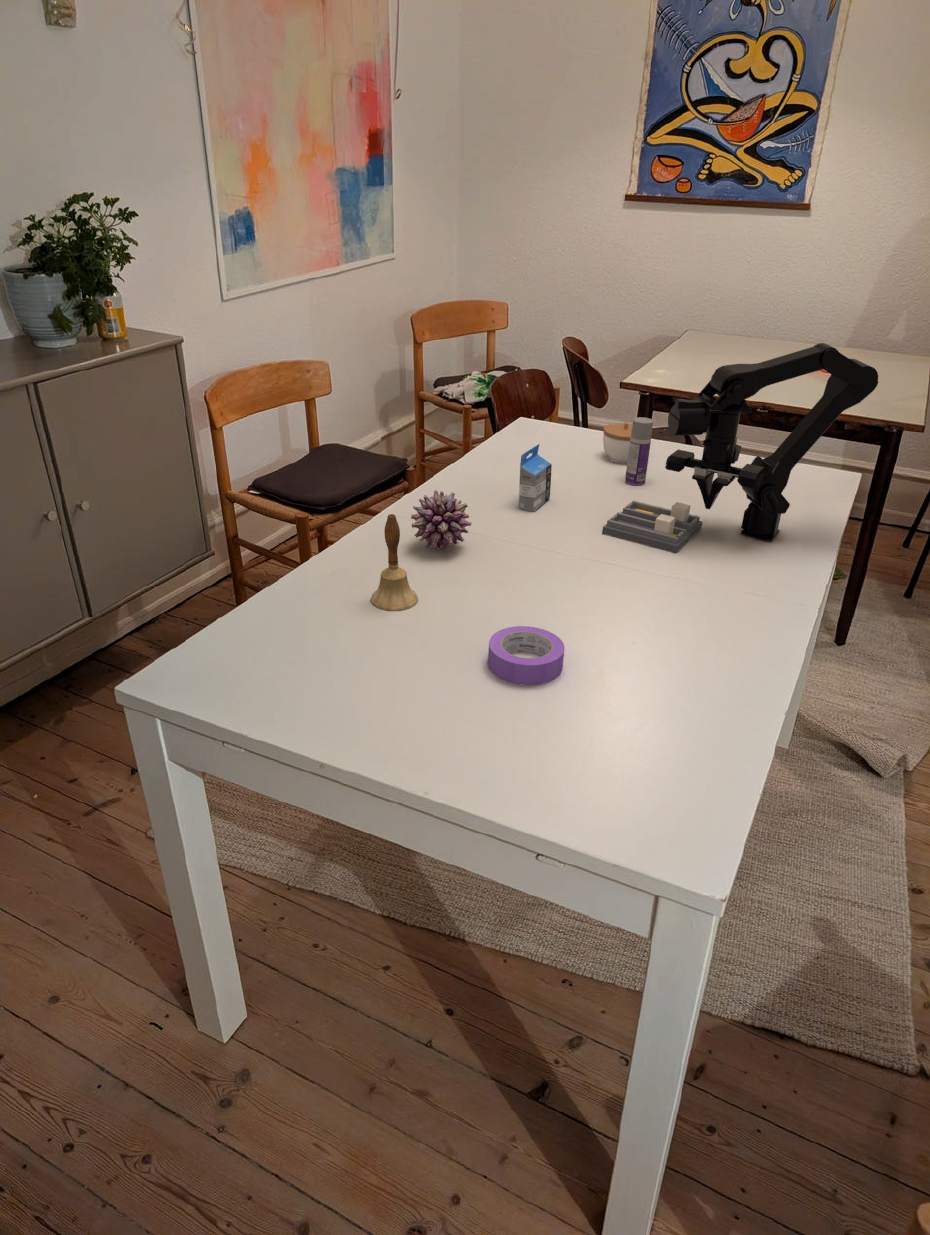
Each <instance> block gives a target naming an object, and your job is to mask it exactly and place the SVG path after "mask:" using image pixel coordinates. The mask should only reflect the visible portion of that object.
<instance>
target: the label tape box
mask: <svg viewBox="0 0 930 1235" xmlns="http://www.w3.org/2000/svg"><path fill="white" fill-rule="evenodd" d="M539 447H540V443H538V444H536V445H535V446H533V447H532V448H530V449H528V450H527V451H525V452H523V453H522V454H521V456H520V464H519V488H518V489H519V491H518V492H519V493H518V495H519V496H518V497H519V498H518V510H523V511H527V512H535V511H536V510H538V509H539V508H540V507H541V506H543V505H544V504H545V503H546V502H548V501H549V500H551V499H550V498H551V483H552V468H553V467H552V466H553V464H552V463H551V462H549V461H548V460H546V459H545V458H544V457H542V456H540V455H539V454H538V453H539Z"/></svg>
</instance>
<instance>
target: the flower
mask: <svg viewBox="0 0 930 1235" xmlns="http://www.w3.org/2000/svg"><path fill="white" fill-rule="evenodd" d="M455 495H456V493H455V492H454V491H451V492H450V494H449V495H448V494H444V491H443V490H442V491H440V492H439V491H438V490H437V489H434V491H433V496H430V497H429V496H427V494H425V495H424V496H422V497H423V498H421V497H420V498H419V499H418V501H419V503H420V506H416V505H413V506H412V509H413V510H415V511H416V513H414V514H410V519H412V520H414V522H411V529H414V528H416V529H418V530H417V532H416V533H415V534H414V536H415V538H420V539H419V541H420V542H423V540H425V541H426V543H427V544H426V546H425V548H426V549H430V548H431V546H432V547H434V548H435V547H436V549H439V550H440V549H441V548H442V549H443V551H444V552H448V551H449V546H451V545H455V546H457V545H458V541H459V542H461V543H463V542H464V541H465V538H464V537H463V535H462V533H464V534H468V533H469V529H466V527H471V526H472V524H473V523H472V522H471V521H469V520H466V519H468V518H470V515H469V513H468V514H466V511H465V510H466V508H468V507H469V505H468V503H467V502H466V503H463V502H462V499H459V500H457V499H456V498H455Z"/></svg>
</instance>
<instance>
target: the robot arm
mask: <svg viewBox="0 0 930 1235" xmlns="http://www.w3.org/2000/svg"><path fill="white" fill-rule="evenodd" d="M822 370H824V371H826V372H827V373H829V374H830V376H829V377H828V379H827V381H826V384H825V388H824V391H823V395H822V396H821V398H820V399H818V401H817V402H816V403H815V404H814V406H812V408H811V409H810V410H809V412H807V414H806V415H805V416H804V417H803V418H802V420H800V422H799V423H798V424H797V425H796V426H795V427H794V429H793V430H792V431H791V432H790V434H788V435H787V437H786V438H785V439H784V441H782V443H781V444H780V445H779V446H777V448H776V450H775V451H774V452H773V453H772V454H770V455H768V456H766V457H764V458H762V457H761V456H760V455H757V456H756V457H755V458H754V459H753V460H752V462H751V463H746V464H745V465H744V466H743V467H737V466H732V465H734V464H735V463H736V462H738V460H739V458H740V453H741V449H742V445H740V444H737V441H738V440H737V439H738V437H737V434H738V429H739V423H740V416H741V414H751V413H753V409H752V408H751V407H750V406H749V404H748V403H747V401H746V400H747V399H749V398H751V397H753V396H755V395H757V393H758V392H760V391H761V390H762V389H764V388H766V387H769V386H771V385H774V384H778V383H781V382H784V381H788V380H791V379H795V378H798V377H801V376H805V375H808V374H811V373H814V372H818V371H822ZM878 385H879V373H878V371H877V369H876V368H875V367H873V366H871V365H869V364H868V363H867V364H866V363H864V362H863V361H860V360H858V359H856V358H848V357H847V355H844V354H843V353H841V352H840V351H839V350H838V349H837V348H836V347H833V346H831V345H830V344H827V343H824V342H820V343H817V344H814V345H813V346H811V347H808V348H805V349H801V350H797V351H795V352H791V353H788V354H784V355H781V356H777V357H774V358H771V359H768V360H764V361H761V362H758V363H757V362H756V363H733V364H726V365H721V366H719V367H718V368H717V369H715V370H714V372H713V373H712V375H711V378H710V380H709V381H708V383H707V384H706V385H705V386H703V388H702V389H701V391H700V392H699V393H698V394H697V395H696V398H695V399H684V398H676V399H675V401H674V405H672V407H671V409H670V411H669V412H668V416H667V427H668V432H669V434H670V435H671V436H675V437H677V436H701V435H703V434H704V433H706V434H705V438H704V439H703V443H702V446H703V451H702V456H701V457H702V458H701V459H698V458H695V456H696V455H695V452H693V451H687V450H683V449H682V450H681V449H677V450H674V452H673V453H671V454H670V455H668V456H667V458H666V460H665V467H664V468H665V470H668V471H672V472H676V473H680V472H681V471H683V470H684V469H685V467H686V468H690V469H694V472H693V475H692V476H691V479H692V480H695V481H696V483H697V486H698V488H699V491H700V492H701V498H702V500H703V504H704V508H705V509H706V510H711V508H712V507H713V505H714V504H715V502H716V499H717V498H718V496H719V494H720V493H721V491H722V489H723V488H724V487H727V486H729V485H730V484H731V483H732V482H733V481H734V480H736V479H737V483H738V484H739V486H740V487H741V489H742V490H743V492H744V493H745V495H746V499H747V500H749V501H750V502H749V504H747V507H746V508H745V510H744V512H743V516H742V517H743V518H742V522H741V525H740V528H741V531H740V535H741V536H745V537H750V538H752V539H757V540H762V541H766V542H770V543H771V542H773V541H774V539H776V537H777V536H778V534H779V533H780V529H779V526H780V522H781V517H782V515H784V514H786V513H787V512H788V509H789V508H790V506H791V503H790V502H789V501H788V500H787V498H786V497H785V496H784V495H783V491H784V490H785V489H786V487H787V485H788V482H789V479H790V475H791V472H792V470H793V469H794V467H795V466H796V465H797V464H798V463H799V462H800V460H802V458H803V457H804V456H805V455H806V454H807V453H808V452H809V451H810V449H811V448H812V447H813V446H814V444H816V443H817V441H819V439H820V438H821V436H822V435H824V433H825V432H826V431H827V430H828V429H829V428H830V427H831V425H833V423H834V422H835V421H836V420H837V419H838V418H839V416H841V414H842V413H843V412H844V411H846V410H848V409H850V408H852V407H854V406H856V405H859V404H860V403H861V402H862V401H863V400H865V399H866V398H867V397H868V396H869V395H871V394H872V393H873V392H874V391H875V390H876V388H877V386H878ZM715 395H717V396H718V397H717V398H716V397H714V396H715ZM715 474H716V478H715V479H714V477H715Z"/></svg>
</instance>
